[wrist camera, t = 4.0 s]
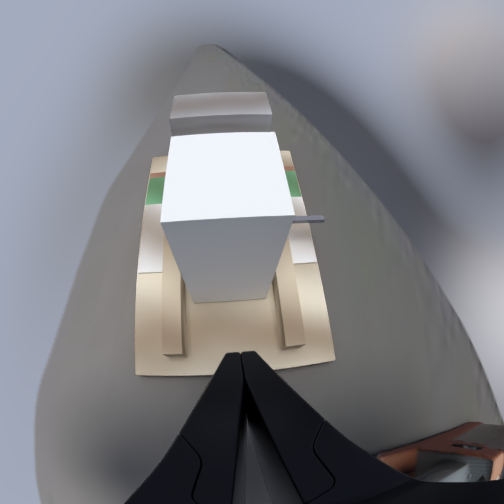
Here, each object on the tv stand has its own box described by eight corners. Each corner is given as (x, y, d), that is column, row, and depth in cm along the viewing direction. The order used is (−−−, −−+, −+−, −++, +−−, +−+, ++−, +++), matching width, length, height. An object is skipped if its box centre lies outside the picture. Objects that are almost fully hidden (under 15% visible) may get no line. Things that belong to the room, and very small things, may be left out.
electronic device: (368, 451, 12) (447, 475, 6) (469, 419, 13) (542, 411, 6) (361, 506, 10) (426, 549, 4) (463, 467, 11) (532, 471, 4)
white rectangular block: (328, 292, 16) (395, 213, 9) (193, 303, 15) (160, 222, 8) (314, 233, 17) (359, 137, 10) (193, 240, 17) (171, 136, 10)
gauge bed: (329, 361, 15) (378, 346, 10) (141, 375, 14) (93, 367, 8) (285, 151, 23) (297, 93, 17) (156, 157, 21) (143, 100, 16)
